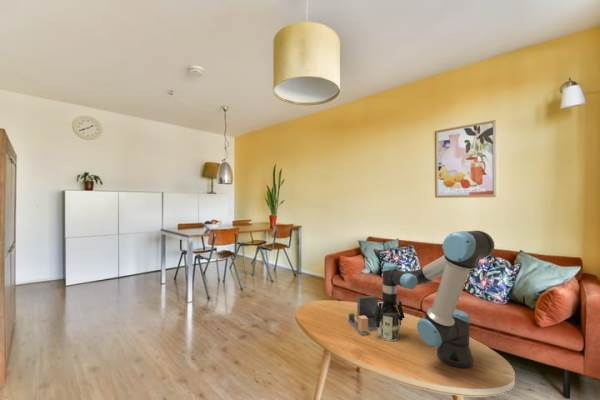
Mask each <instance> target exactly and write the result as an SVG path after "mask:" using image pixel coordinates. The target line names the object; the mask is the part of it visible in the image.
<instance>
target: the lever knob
mask: <svg viewBox="0 0 600 400" xmlns="http://www.w3.org/2000/svg"><path fill="white" fill-rule="evenodd" d="M357 322H358V329H359V330H360V331H361V332H363V331H367V332H368V331H369V330H368V318H367V317H366V316H365V315H363V316H358V319H357Z"/></svg>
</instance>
